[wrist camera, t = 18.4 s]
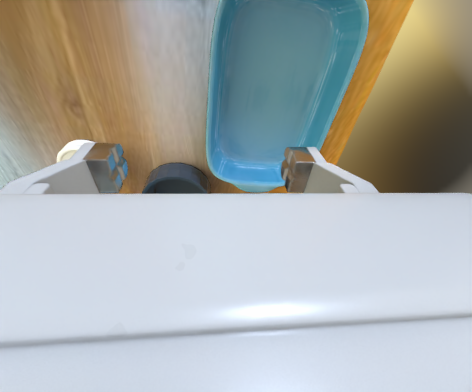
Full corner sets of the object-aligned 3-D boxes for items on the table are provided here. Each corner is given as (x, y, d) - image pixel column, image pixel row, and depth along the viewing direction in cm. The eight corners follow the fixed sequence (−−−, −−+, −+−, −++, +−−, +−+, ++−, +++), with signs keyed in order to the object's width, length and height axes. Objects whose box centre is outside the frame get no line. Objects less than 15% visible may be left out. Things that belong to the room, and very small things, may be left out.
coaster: (111, 141, 46) (104, 149, 44) (119, 179, 53) (114, 189, 50) (57, 136, 45) (47, 144, 42) (72, 176, 51) (65, 186, 49)
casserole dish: (216, -63, 29) (217, -77, 24) (370, -29, 33) (402, -34, 27) (203, 171, 53) (202, 190, 48) (293, 177, 56) (302, 196, 51)
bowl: (152, 210, 60) (148, 226, 56) (140, 161, 50) (134, 176, 46) (210, 210, 62) (210, 225, 58) (210, 162, 52) (210, 176, 47)
